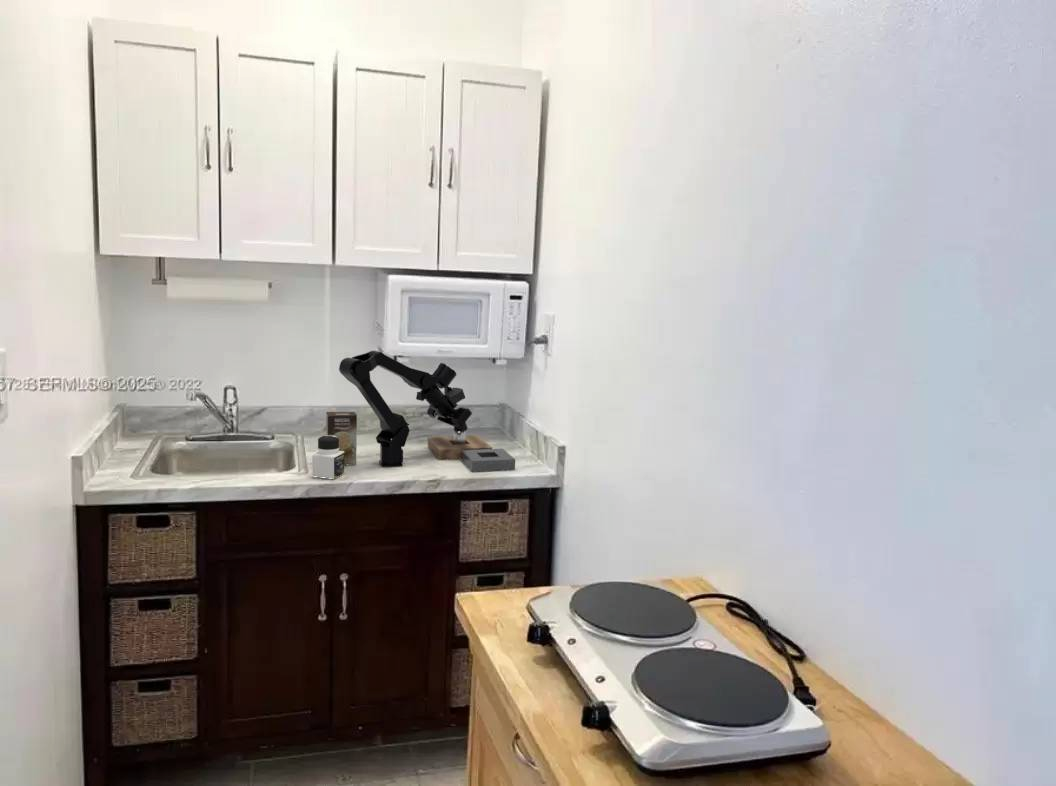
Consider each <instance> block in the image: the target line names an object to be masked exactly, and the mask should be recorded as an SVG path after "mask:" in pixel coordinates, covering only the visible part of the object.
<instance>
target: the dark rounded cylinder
mask: <svg viewBox="0 0 1056 786" xmlns="http://www.w3.org/2000/svg"><path fill="white" fill-rule="evenodd" d="M452 436H453V445H458V444H465V436H466V431H465V430H463V429H461V428H459V427H456V426H453V435H452Z"/></svg>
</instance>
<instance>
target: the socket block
mask: <svg viewBox="0 0 1056 786" xmlns="http://www.w3.org/2000/svg"><path fill="white" fill-rule="evenodd" d="M460 461H461V462H462V463H463V464H464V465H465V466H466V467H467V468H468V470H469V469H470V470H469V471H470V472H471V473H481V472H482V473H483V472H500V471H501V470H504V471H515V470H516V459H515V458H514V456H512V455H511V454H510V453H508V452H507V451H506V450H505V449H504V448H492V449H481V450H461V459H460Z"/></svg>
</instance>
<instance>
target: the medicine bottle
mask: <svg viewBox="0 0 1056 786" xmlns="http://www.w3.org/2000/svg"><path fill="white" fill-rule="evenodd" d="M338 450H339V438H338V437H336V436H332V435H327V436H326V435H322V436H320V437H318V439H317V452H315V453H312V456H311V457H312V465H311V467H312V469H311V470H312V473H311V474H312V475H311V477H312V476H317V477H325V478H332V479H335V478H336V479H338V478H339V477H338V476H340V475H341V476H343V475H344V474H345V472H346V471H345V466H346V465H345V452H344V451H338ZM342 474H343V475H342ZM341 476H340V477H341ZM337 477H338V478H337ZM336 479H335V480H336Z"/></svg>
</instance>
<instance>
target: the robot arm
mask: <svg viewBox="0 0 1056 786" xmlns="http://www.w3.org/2000/svg"><path fill="white" fill-rule="evenodd" d="M377 367H380V368H381V369H383V370H386V371H387V372H389V373H391V374H394V375H396V376H397V377H399V378H401V379H402V381H403V382H404V383H406V384H407V385H408V386H410V388H414V389H419V390H420V391H417V392H416V396H415V398H416V400H417V401H421V402H424V401H426V402H427V403H428V404H429V405H428V409H427V411H426V412H427V413H426V414H427V415H428V417H430V418H432V419H436V417H437V421H440V422H442V423H444V424H447V425H450V426H452V427H454V426H456V427H459V428H461V429H463V430H465V432H466V431H467V430H468V429H469V428H468V425H467V423H466V422H467V421H468V420H469V418H470V417H471V416H472V414H473V413H472V411H471V410H470V408H467V407H464V406H460V407H458V408H457V406H458V403H459V402H461V401H462V400H464V399H466V395H465V392H464V390H463V388H461V387H451V386H450V384H451V383H452V382H453V381H454V379H455V378H456V377H457V372H456V371H455V370H454V369H452V368H451V367H450V366H448V365H446V363H445V362H444V363H443V362H440V363H439V365H438V367H437V368H436V369H435V370H434V372H432V373H429V372H427V371H423V370H420V369H415V368H412V367H409V366H407V365H406V364H403V363H401V362H400V361H398V360H396V359H394V358H392V357H390V356H388V355H386V354H385V353H383V351H379V350H370V351H367V352H366V353H362V354H358V355H355V356H352V357H345V358H342V360H341V361H340V362H339V367H338V371H339V373H340V374H341V375H342V376H343V377H344V378H345V379H346V380H347V381H348V382H349V383H351V384H352V385H354V386H355V387H356V388H357V389H358V391H359V392H360V394H361V395H362V397H363V398H364V400H365V401H366V402H367V403H368V405H369V406H370V408H371V409H372V411H373V412H374V414H375V415H376V416H377V418H378V419H379V426H380V429H381V430H380V431H379V433H378V434H377V436H376V437H375V441H376V443H377V444H378V445H379V447H380V448H379V450H380V451H379V453H380V454H379V461H378V462H379V464H380V466H381V467H400V466H401V467H402V466H403V462H404V450H403V447H406V442H407V439H408V437H409V435H410V428H409V425H410V423H408V422H407V421H406V419H405V417H404V416H403V415H402V414H399V413H396V412H393V411H392V410H391V407H389V405H388V404H387V402H386V401H385V399H384V398H383V396H382V395H381V394H380V392H379V391H378V389H377V388H376V386H375V385H374V383H373V382H372V380H371V373H370V372H372V371H374V369H376V368H377ZM442 389H444V392H443V391H441V390H442Z"/></svg>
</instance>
